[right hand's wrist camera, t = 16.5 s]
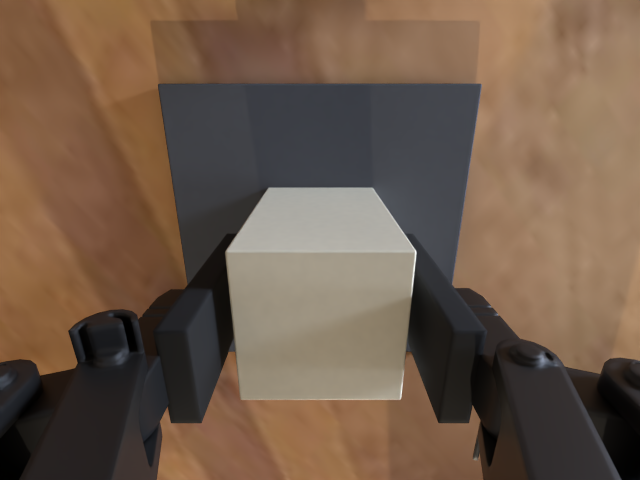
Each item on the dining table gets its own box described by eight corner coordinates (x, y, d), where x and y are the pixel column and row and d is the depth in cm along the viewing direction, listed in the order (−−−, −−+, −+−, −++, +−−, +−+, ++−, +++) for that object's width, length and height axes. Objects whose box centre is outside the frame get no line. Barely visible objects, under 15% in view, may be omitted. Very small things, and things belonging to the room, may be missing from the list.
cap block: (267, 187, 16) (224, 250, 9) (372, 187, 16) (417, 250, 9) (272, 281, 18) (239, 400, 11) (367, 281, 18) (401, 400, 11)
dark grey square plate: (476, 84, 15) (482, 83, 15) (438, 345, 20) (442, 352, 20) (162, 84, 15) (157, 83, 15) (200, 345, 20) (197, 352, 20)
